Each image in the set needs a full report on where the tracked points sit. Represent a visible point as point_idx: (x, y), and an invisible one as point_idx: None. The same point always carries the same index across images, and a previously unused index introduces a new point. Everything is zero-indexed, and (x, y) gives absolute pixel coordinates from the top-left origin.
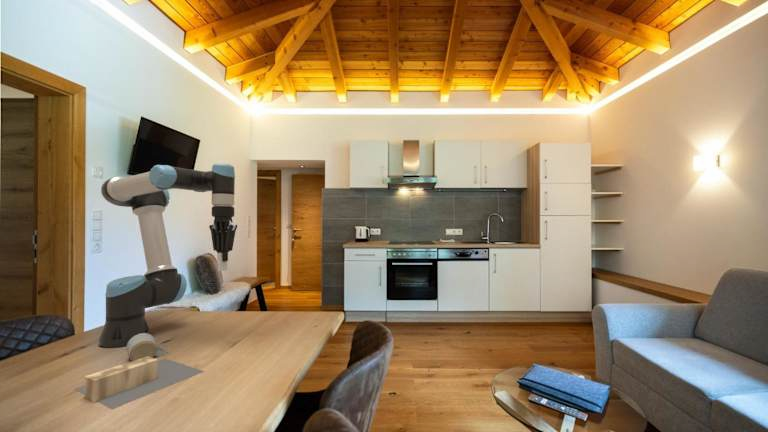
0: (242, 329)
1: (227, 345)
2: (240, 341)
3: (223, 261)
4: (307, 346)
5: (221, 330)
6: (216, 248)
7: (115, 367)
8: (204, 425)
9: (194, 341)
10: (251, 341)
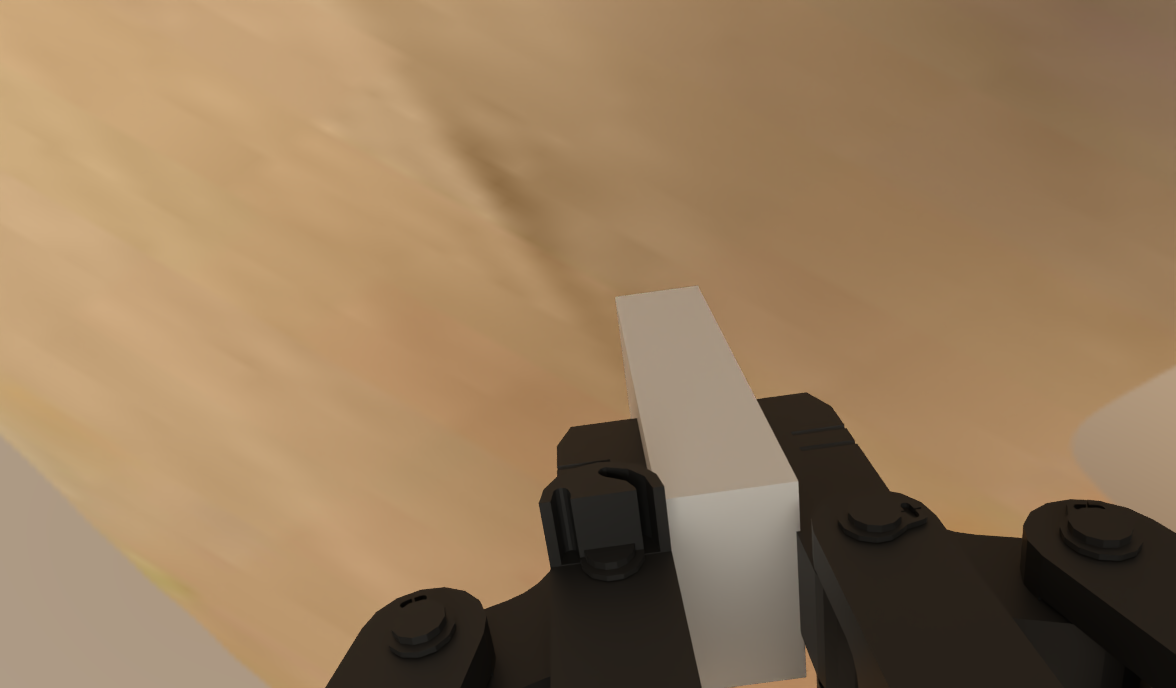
0: (756, 385)
1: (513, 138)
2: (516, 238)
3: (597, 425)
4: (70, 437)
5: (877, 285)
6: (1040, 594)
7: None
8: None
9: (817, 29)
10: (452, 284)
